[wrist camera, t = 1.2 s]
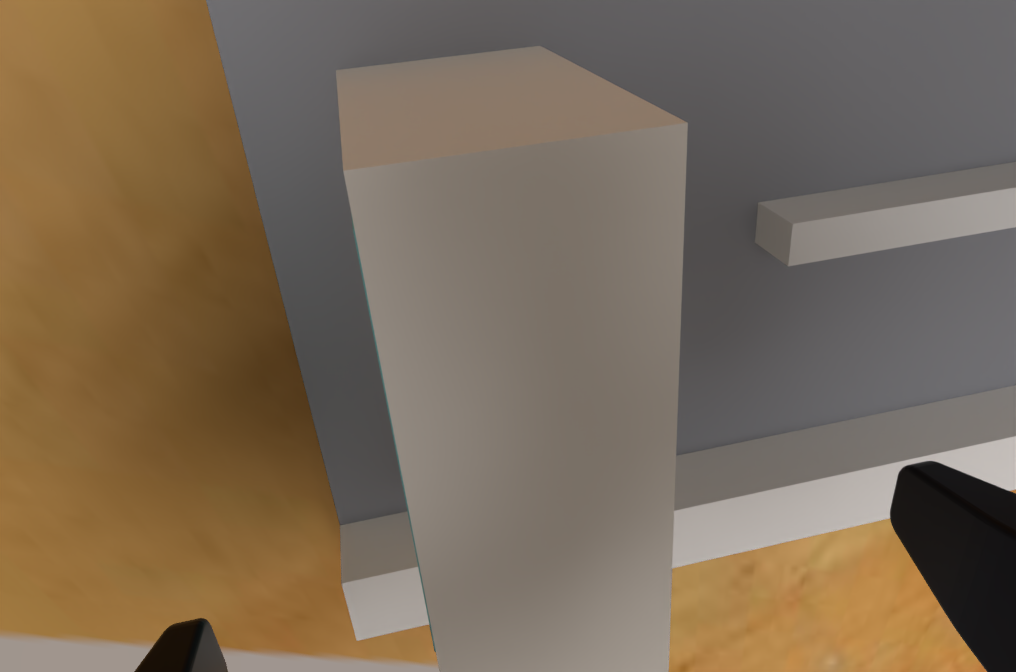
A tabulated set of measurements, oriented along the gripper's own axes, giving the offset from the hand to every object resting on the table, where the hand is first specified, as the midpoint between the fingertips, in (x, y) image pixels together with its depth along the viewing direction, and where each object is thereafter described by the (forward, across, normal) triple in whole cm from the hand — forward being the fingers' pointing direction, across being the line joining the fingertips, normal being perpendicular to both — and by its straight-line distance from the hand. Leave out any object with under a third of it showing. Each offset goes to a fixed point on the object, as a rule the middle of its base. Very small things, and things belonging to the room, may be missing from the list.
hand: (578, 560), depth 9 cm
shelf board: (+10, -8, 0) cm, 13 cm away
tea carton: (+9, 0, 0) cm, 9 cm away
